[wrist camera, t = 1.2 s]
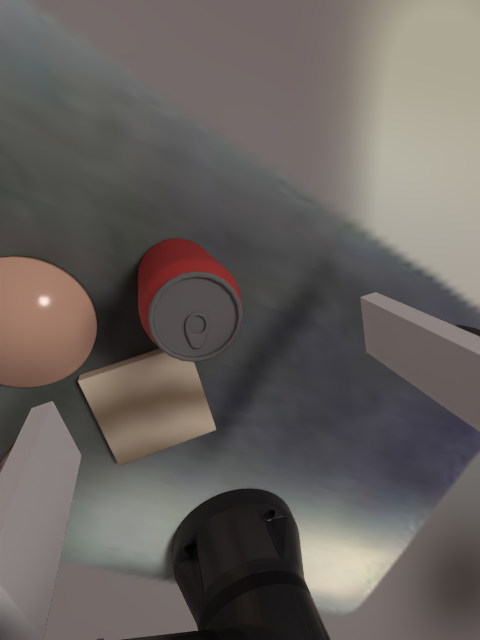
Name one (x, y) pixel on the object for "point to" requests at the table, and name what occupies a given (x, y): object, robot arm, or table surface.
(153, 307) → the beer can
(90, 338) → the coaster
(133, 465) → the table surface
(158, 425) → the square tan board
